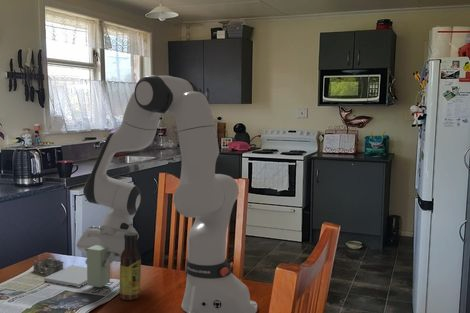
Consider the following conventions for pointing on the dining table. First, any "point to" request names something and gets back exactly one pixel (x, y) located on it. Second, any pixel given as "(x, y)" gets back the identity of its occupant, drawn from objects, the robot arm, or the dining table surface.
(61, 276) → the tile
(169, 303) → the dining table surface
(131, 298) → the sauce bottle
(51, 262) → the mossy rock
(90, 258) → the sage block
